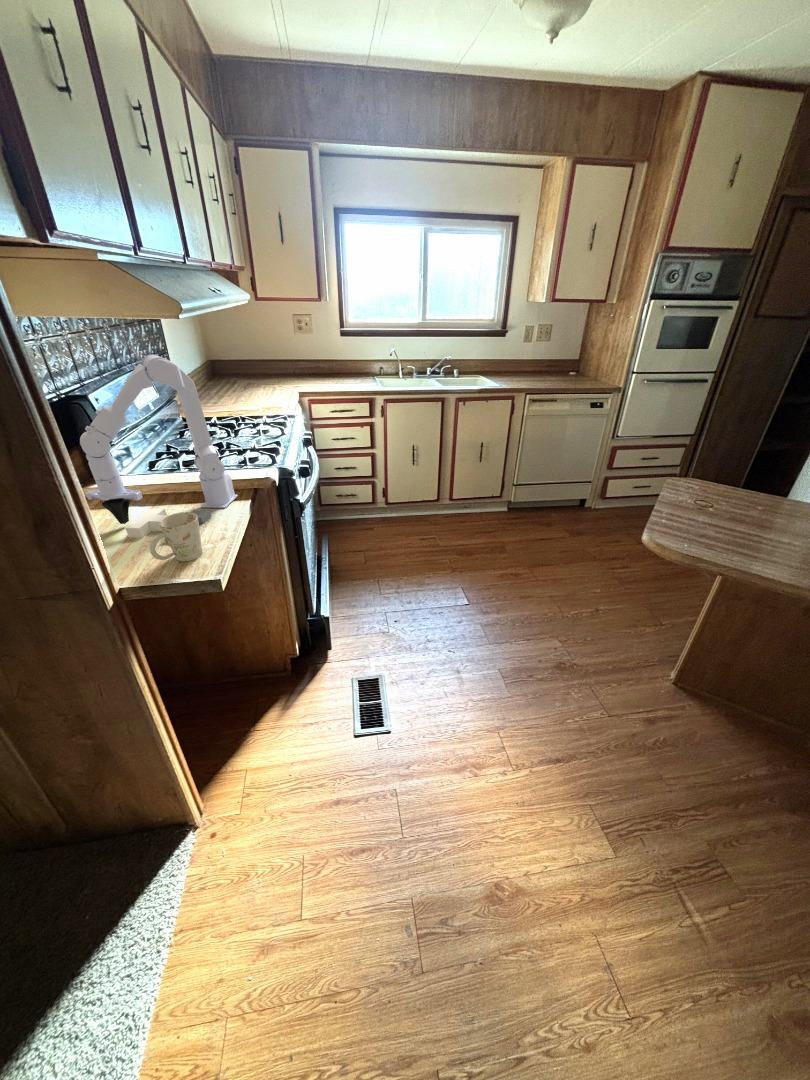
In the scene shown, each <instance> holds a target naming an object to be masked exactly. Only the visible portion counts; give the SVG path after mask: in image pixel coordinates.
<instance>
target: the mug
mask: <svg viewBox="0 0 810 1080" xmlns="http://www.w3.org/2000/svg"><path fill="white" fill-rule="evenodd" d="M190 512H191V511H190ZM190 512H188V511H183V512H177V513H173V514H169V515H170V516H167V517H165V518H163V519H162V520H161V521H160V523H159V525H160V527H161V530H162V531H161V532H160V533H159V534H157V535H155V536H154V537H153V538H152V540H151V541H150V544H149V553H150V554H151V557H153V558H154V559H155V560H160V561H166V560H169V559H171V558H172V557H173V556H174V557H175V558H176V560H177V561H179V562H190V561H193V560H197V559H198V558H200V557H201V556H202V554H203V547H202V546H203V545H202V539H201V531H200V524H199V522H198V517H197V515H196V514H194V513H190ZM165 537H166V539H167V541H168V542H167V543H168V546H169V547H170V549H171V550H172V552H170V553H168V554H167V555H160V554H159V553H158V552H157V550H156V548H157V547H156V546H157V543H158V542H159V541H160V540H162V539H165Z"/></svg>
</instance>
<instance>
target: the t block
mask: <svg viewBox="0 0 810 1080" xmlns="http://www.w3.org/2000/svg"><path fill="white" fill-rule="evenodd" d="M170 515H171V514H167V511H166V508H151V509H148V510H147V511H146V512H145V513H143V515H141V516H139V517H138V518H137V519H135V520H134V521H133V522H131V523H130V524H128V525H127V526H126V527H125V531H126V533H127V536H128V538H131V539H132V538H133V539H136V538H137V539H144V538H145V537H146V536H147V535H149V534H150V533H152V532H163V531H162V530H161V527H160V525H159V523H160V521H161V520H162V519H163V518H165V517H167V516H170Z"/></svg>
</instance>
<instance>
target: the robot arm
mask: <svg viewBox="0 0 810 1080" xmlns="http://www.w3.org/2000/svg"><path fill="white" fill-rule="evenodd" d="M154 382H156V383H157V384H161V385H163V386H164V385H165V386H168V387H170V388H171V389H173V390H175V391H176V392H177V395H178V399H179V402H180V405H181V409H182V411H183V415H184V418H185V420H186V424H187V427H188V430H189V433H190V437H191V440H192V442H193V443H192V444H193V451H194V455H195V457H194V466H195V467H196V469H198V470H199V471H200V472H199V476H198V477H199V481H200V485H201V489H202V493H203V495H204V501H205V502H203V503H202V505H200V507H201V508H208V509H209V508H210V509H213V508H216V509H225V508H227V507H229V505H230V504H231V503H232V502H233V501H234V500H235V499H236V498H238V496H239V495H238V494H235V490H234V485H233V479H232V477H231V476H230V474H229V473H228V472H226V471H225V469H226V468H225V465H224V463H223V461H221V460H220V458H219V456H218V453H217V451H216V449H215V447H214V445H213V443H212V438H211V435H210V432H209V429H208V426H207V421H206V418H205V415H204V411H203V407H202V404H201V401H200V398H199V397H200V396H199V394H198V393H199V392H198V390H197V387H196V384H195V381H194V380H193V379H192V378H191V377H190V376H188V374H186V372H184V371H183V370H182V369H181V368H180V367H179V365H177V363H174V362H173V361H171V360H169V359H167V358H165V357H161V356H160V355H157V354H148V355H146V356H144V357H143V359H142V360H141V363H138V364H137V365H136V366H135V368H134V369H133V370H132V372H131V373H130V374H129V376H128V378H127V380H125V383H124V384H123V386H122V388H121V389H120V391H119V392H118V394H117V396H116V397H115V399H114V400H113V402H112V404H110V405H105V406H102V407H101V409H99V408H97V409H96V410H95V412H94V413H95V414H96V416H95V418H94V419H92V422H91V423H90V425H89V426H88V425H86V427H85V428H84V430H85V432H83V433H82V434H81V436H80V438H79V445H80V446H81V449H82V451H83V452H84V453H85V458H86V460H87V461H88V463H87V464H88V466H89V469H90V471H91V474H92V476H93V480H95V481H94V482H95V483H96V484H95V485H96V486H97V489H96V490H89V491H87V492H85V495H86V498H87V500H88V501H89V500H92V501H93V500H96V499H97V500H100V501H103V502H102V503H101V505H102V507H104V508H105V509H106V510H108V512H110V513H111V514H112V516H113V517H114V518H115V520H116V521H118V522H119V524H120V525H125V524H126V523H128V522H130V518H129V515H130V514H129V507H130V503H131V500H134V501H137V502H138V501H140V500H142V499H143V498H144V497H143V495H142V492H141V491H139V490H133V489H128V488H125V486H124V483H123V479H122V477H121V475H120V472H119V470H118V467H117V464H116V462H115V459H114V457H112V455H111V454H112V453H111V452H110V450H111V445H110V442H113V441H114V440H115V438H116V437H117V435H118V434H119V432H120V431H121V429H122V428H123V427H124V426H125V424H126V422H127V417H126V414H125V413H126V412H127V411H128V409H129V408H130V407H131V406H132V404H133V402H135V400H136V399H137V397H138V396H139V395H140V394H141V392H142V391H143V390H144V389H149V388H151V387H155V386H156V385H155V383H154Z"/></svg>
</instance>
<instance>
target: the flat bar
mask: <svg viewBox="0 0 810 1080" xmlns="http://www.w3.org/2000/svg"><path fill="white" fill-rule="evenodd" d="M190 513H194V514H196V515H197V517H198V522H199V525H203V524H205V523H206V522H207V521H208V520H209V519H210V518H211V517H212V513H211V510H210V509H193V510H191V511H190ZM164 540H165V543H168V541H167V539H166V537H165V538H164Z"/></svg>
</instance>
